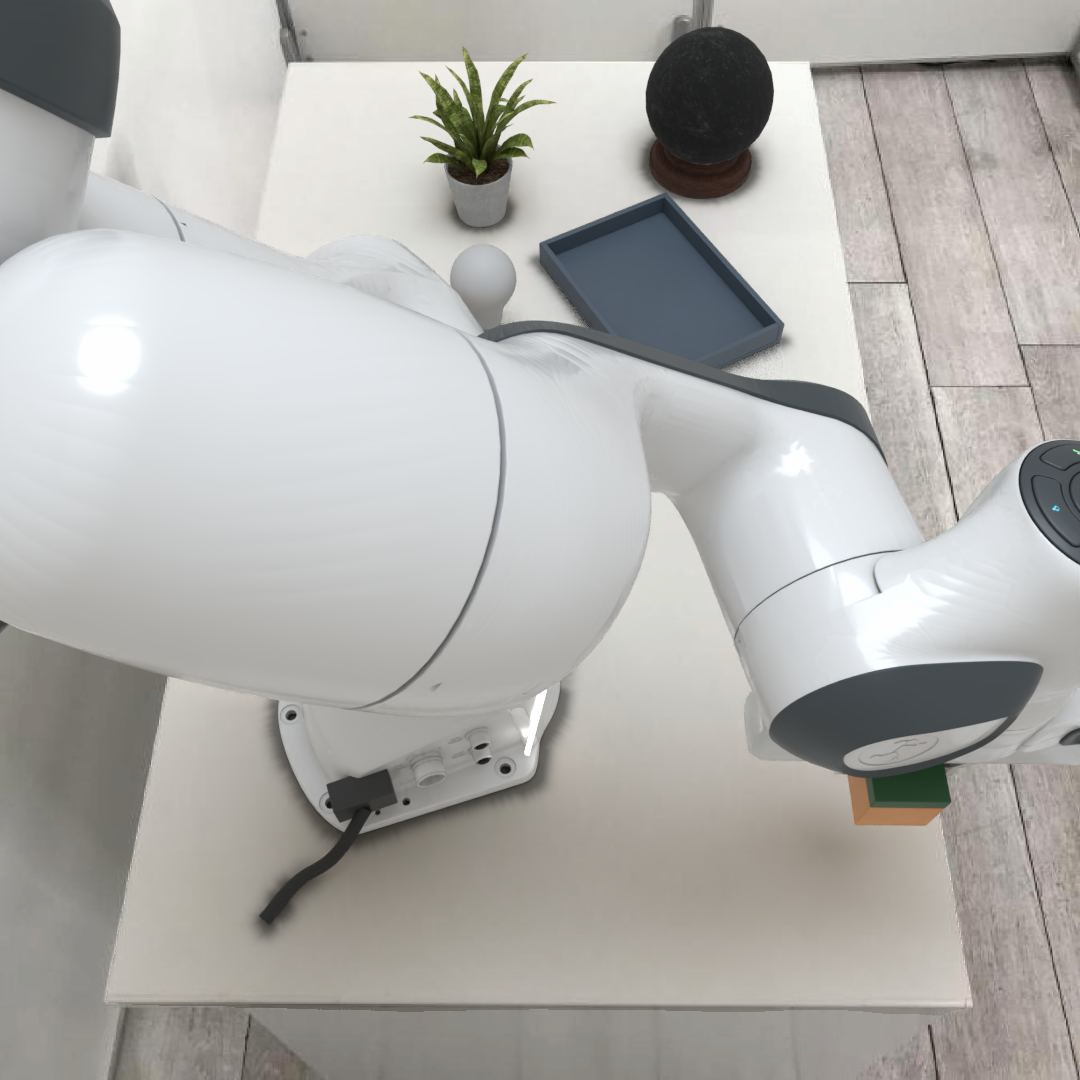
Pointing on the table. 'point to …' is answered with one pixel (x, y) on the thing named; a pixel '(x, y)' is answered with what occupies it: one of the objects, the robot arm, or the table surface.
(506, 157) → the house plant
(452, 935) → the table surface
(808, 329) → the table surface
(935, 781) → the sponge
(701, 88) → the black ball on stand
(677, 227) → the tray
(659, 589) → the table surface
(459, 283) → the lightbulb
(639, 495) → the robot arm
